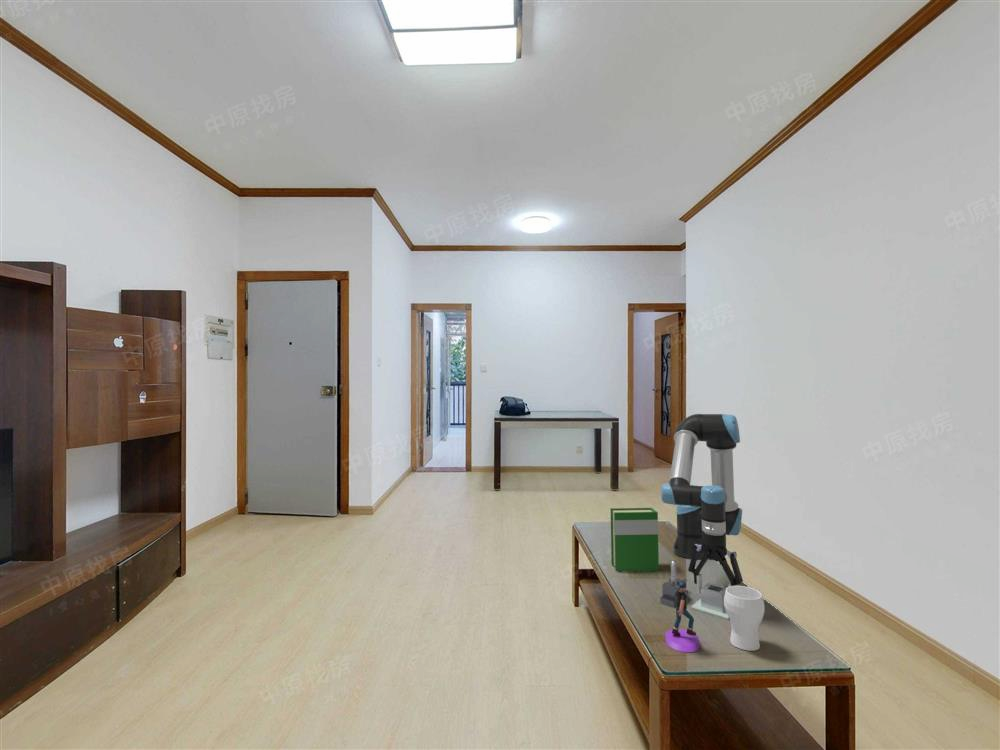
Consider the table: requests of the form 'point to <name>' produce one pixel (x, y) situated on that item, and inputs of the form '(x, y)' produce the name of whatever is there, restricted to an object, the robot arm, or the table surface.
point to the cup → (744, 616)
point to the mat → (709, 610)
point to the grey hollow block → (713, 597)
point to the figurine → (679, 637)
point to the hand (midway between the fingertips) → (715, 598)
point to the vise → (671, 587)
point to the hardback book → (634, 539)
